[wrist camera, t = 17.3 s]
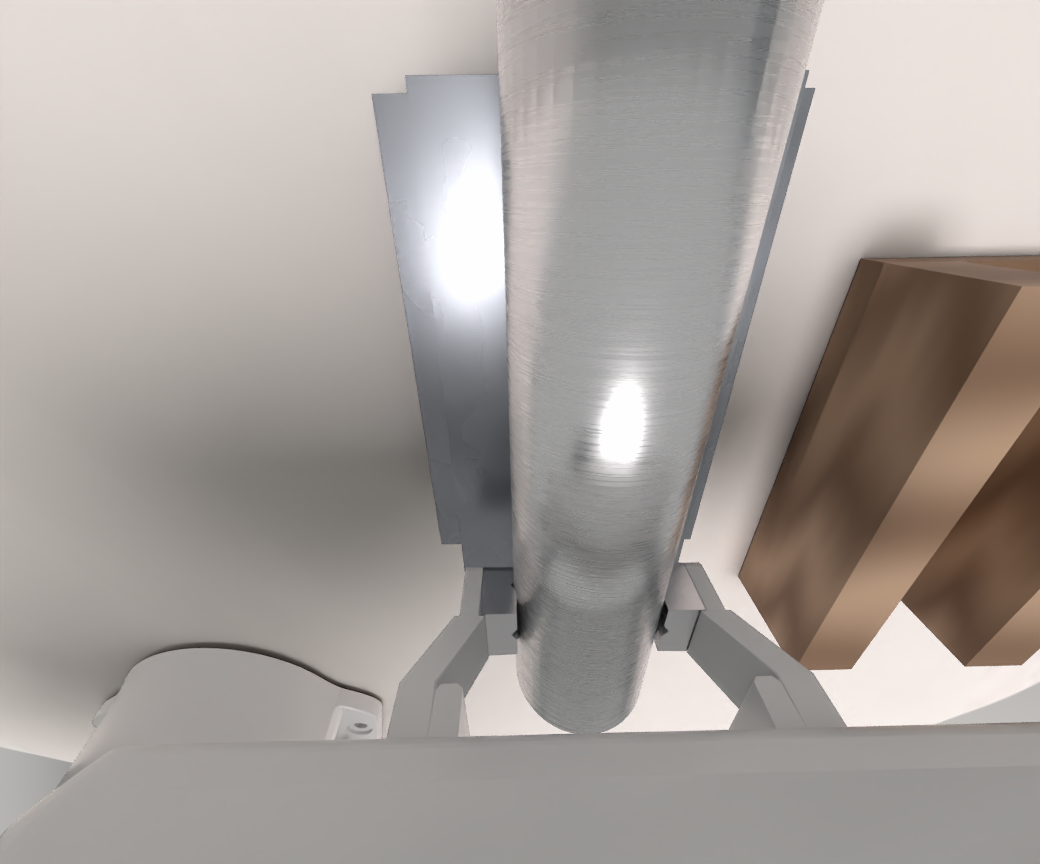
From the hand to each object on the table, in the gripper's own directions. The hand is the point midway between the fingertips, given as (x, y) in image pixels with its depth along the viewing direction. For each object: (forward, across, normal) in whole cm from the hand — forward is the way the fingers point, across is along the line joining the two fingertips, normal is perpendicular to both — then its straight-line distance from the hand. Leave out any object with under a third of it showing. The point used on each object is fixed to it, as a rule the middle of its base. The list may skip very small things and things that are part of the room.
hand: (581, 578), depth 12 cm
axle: (+1, 0, +5) cm, 5 cm away
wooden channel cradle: (+6, +15, 0) cm, 16 cm away
